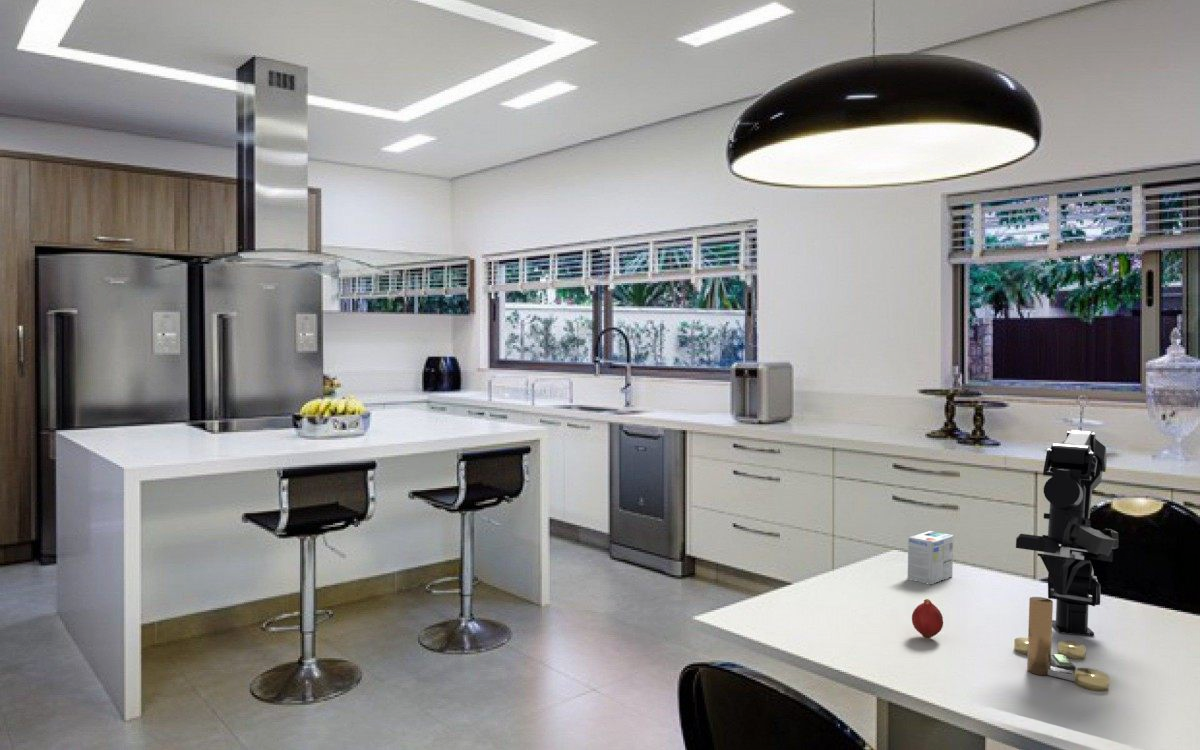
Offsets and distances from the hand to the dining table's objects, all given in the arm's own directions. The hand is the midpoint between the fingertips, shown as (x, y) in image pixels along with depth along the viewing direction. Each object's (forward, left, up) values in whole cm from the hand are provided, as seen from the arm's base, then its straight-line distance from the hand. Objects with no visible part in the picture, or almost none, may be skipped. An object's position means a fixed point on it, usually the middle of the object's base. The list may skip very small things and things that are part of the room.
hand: (1061, 594), depth 151 cm
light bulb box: (-49, -14, -13) cm, 52 cm away
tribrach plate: (+7, -2, -12) cm, 14 cm away
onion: (-6, -22, -12) cm, 26 cm away
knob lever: (+12, -3, -11) cm, 17 cm away
